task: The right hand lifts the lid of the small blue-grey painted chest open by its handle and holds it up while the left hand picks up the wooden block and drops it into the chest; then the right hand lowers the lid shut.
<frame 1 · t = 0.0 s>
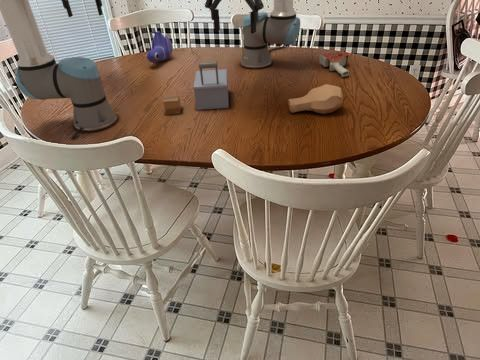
left hand: (85, 15, 157), 28 cm above the table, tool pointing down, fingers open, 13 cm apart
right hand: (235, 31, 121), 28 cm above the table, tool pointing down, fingers open, 13 cm apart
toy: (160, 62, 188), on the table
block: (173, 111, 138), on the table
lid: (209, 68, 136), point 13 cm above the table, hinge at -0.1°
squash: (315, 110, 132), on the table
chest: (213, 100, 145), on the table
grey red-topped piece: (334, 69, 166), on the table
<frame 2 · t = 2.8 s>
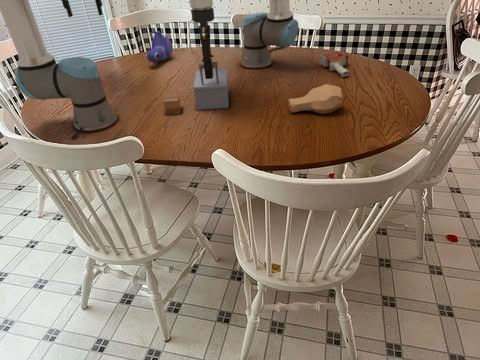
left hand: (85, 15, 157), 28 cm above the table, tool pointing down, fingers open, 13 cm apart
right hand: (209, 77, 132), 12 cm above the table, tool pointing down, fingers closed on lid, 2 cm apart
lid: (209, 68, 136), point 13 cm above the table, hinge at -0.1°, touching right hand
everything else where it was.
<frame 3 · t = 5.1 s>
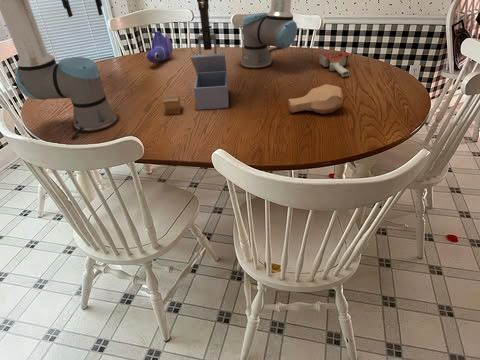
left hand: (85, 15, 157), 28 cm above the table, tool pointing down, fingers open, 13 cm apart
right hand: (207, 48, 133), 20 cm above the table, tool pointing down, fingers closed on lid, 2 cm apart
lid: (209, 53, 137), point 18 cm above the table, hinge at 36.7°, touching right hand
everything else where it was.
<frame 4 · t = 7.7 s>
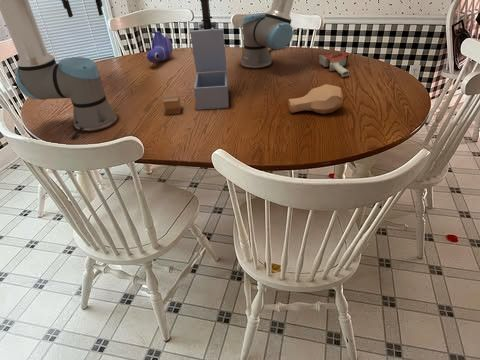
left hand: (86, 16, 157), 28 cm above the table, tool pointing down, fingers open, 13 cm apart
right hand: (208, 37, 141), 21 cm above the table, tool pointing down, fingers closed on lid, 2 cm apart
lid: (209, 45, 142), point 19 cm above the table, hinge at 75.0°, touching right hand
everything else where it was.
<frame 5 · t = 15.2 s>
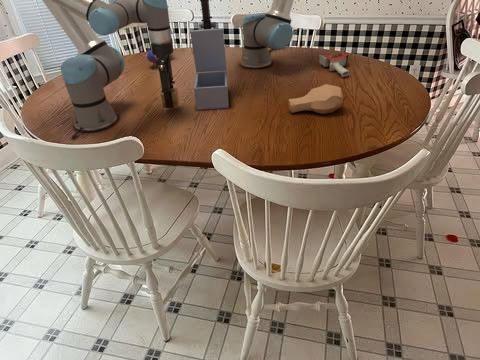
left hand: (170, 104, 136), 3 cm above the table, tool pointing down, fingers closed on block, 5 cm apart
right hand: (208, 37, 141), 21 cm above the table, tool pointing down, fingers closed on lid, 2 cm apart
block: (171, 104, 136), point 3 cm above the table, touching left hand
lid: (209, 45, 142), point 19 cm above the table, hinge at 75.5°, touching right hand
everything else where it was.
when the left hand's fingers open (17 cm above the table, at t = 18.1 s): block drops 16 cm, resting on chest.
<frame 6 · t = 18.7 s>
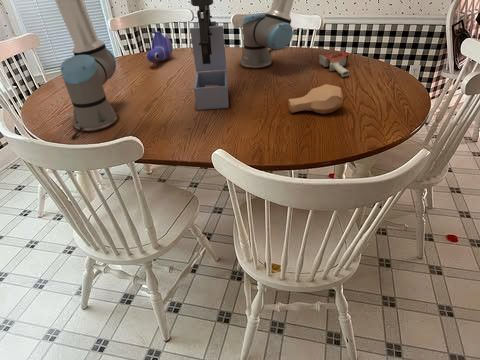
left hand: (207, 58, 130), 18 cm above the table, tool pointing down, fingers open, 11 cm apart
right hand: (208, 37, 142), 21 cm above the table, tool pointing down, fingers open, 3 cm apart
block: (212, 101, 141), point 1 cm above the table, touching chest
lid: (209, 44, 142), point 19 cm above the table, hinge at 81.7°, touching left hand, right hand
chest: (213, 99, 144), on the table, touching block
everything else where it was.
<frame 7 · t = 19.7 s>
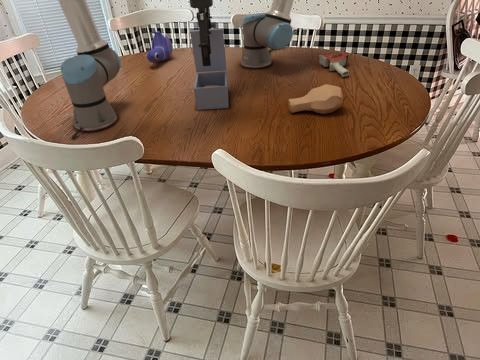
left hand: (207, 59, 127), 19 cm above the table, tool pointing down, fingers open, 13 cm apart
right hand: (208, 37, 141), 21 cm above the table, tool pointing down, fingers closed on lid, 2 cm apart
lid: (209, 45, 142), point 19 cm above the table, hinge at 75.9°, touching right hand
everything else where it was.
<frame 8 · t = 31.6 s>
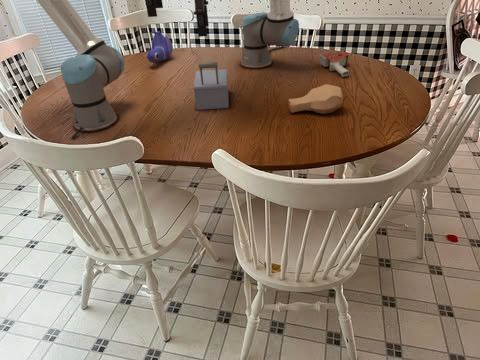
left hand: (156, 12, 117), 36 cm above the table, tool pointing down, fingers open, 13 cm apart
right hand: (203, 30, 119), 29 cm above the table, tool pointing down, fingers open, 13 cm apart
lid: (209, 68, 136), point 13 cm above the table, hinge at -0.1°
everything else where it was.
at the end: block inside the target area in the chest (3.1 cm from its centre), point 0.8 cm above the chest's base; lid at +0° (first picture: +0°); the left hand is holding nothing; the right hand is holding nothing; chest tilted 0°; chest moved 0.0 cm from its start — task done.
